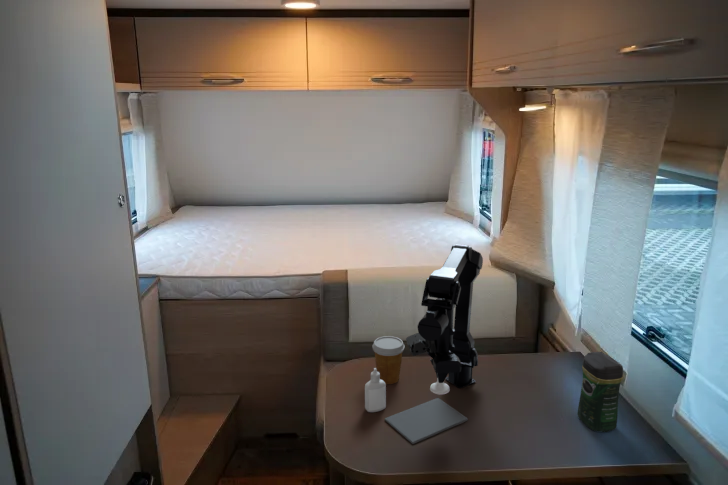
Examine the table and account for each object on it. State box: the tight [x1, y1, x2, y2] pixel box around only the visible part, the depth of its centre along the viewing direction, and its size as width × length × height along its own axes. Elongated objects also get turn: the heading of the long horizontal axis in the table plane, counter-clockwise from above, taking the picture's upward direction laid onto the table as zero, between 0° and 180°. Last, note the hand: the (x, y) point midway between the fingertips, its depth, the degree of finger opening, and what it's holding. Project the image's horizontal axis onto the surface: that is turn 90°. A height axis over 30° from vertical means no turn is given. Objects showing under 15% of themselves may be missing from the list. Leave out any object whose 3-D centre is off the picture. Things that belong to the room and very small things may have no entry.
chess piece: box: [429, 377, 451, 395], centre depth 137 cm, size 5×5×10 cm
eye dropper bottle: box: [364, 367, 387, 413], centre depth 146 cm, size 4×6×12 cm
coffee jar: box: [576, 351, 624, 433], centre depth 138 cm, size 10×8×19 cm
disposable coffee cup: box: [371, 335, 405, 385], centre depth 161 cm, size 10×10×12 cm
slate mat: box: [384, 397, 468, 445], centre depth 142 cm, size 18×12×1 cm, turn 122°
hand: (439, 380), depth 137 cm, fingers closed on chess piece
